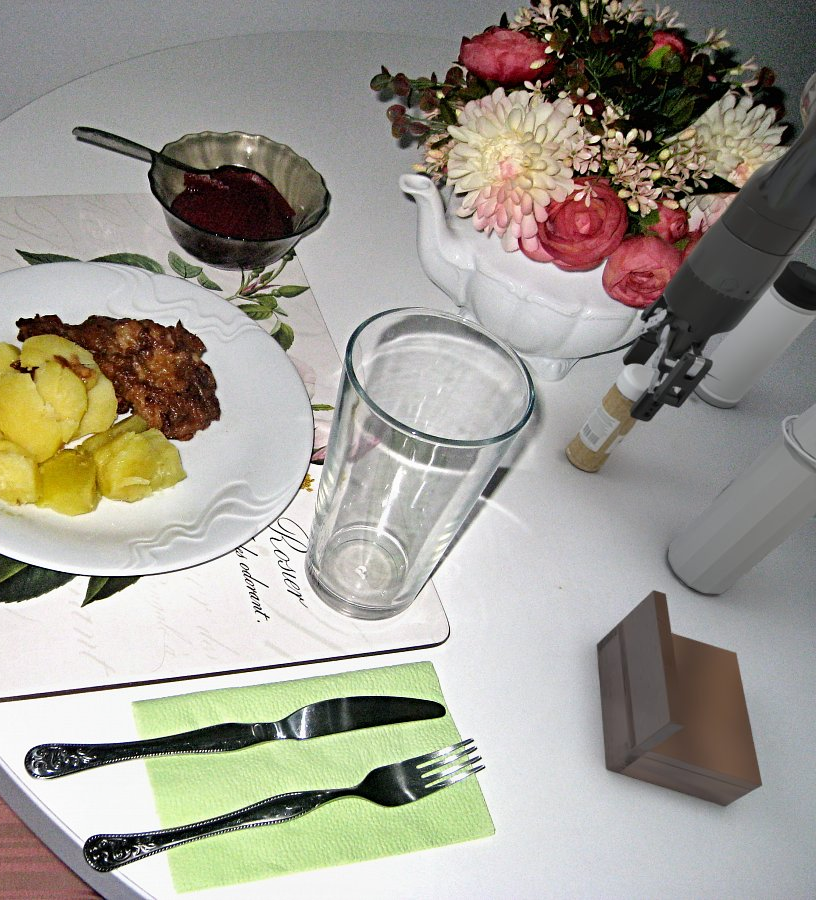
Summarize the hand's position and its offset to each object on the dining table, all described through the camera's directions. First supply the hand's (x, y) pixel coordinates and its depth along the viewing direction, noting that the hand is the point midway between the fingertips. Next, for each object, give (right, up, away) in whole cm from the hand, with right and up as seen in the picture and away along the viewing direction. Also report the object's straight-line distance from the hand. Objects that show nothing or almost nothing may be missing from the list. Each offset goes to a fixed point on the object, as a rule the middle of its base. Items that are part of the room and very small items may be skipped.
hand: (634, 390), depth 96 cm
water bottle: (+7, -19, +1) cm, 20 cm away
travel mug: (+20, +1, +22) cm, 30 cm away
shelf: (-4, -32, -13) cm, 34 cm away
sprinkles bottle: (-2, -7, +8) cm, 12 cm away
